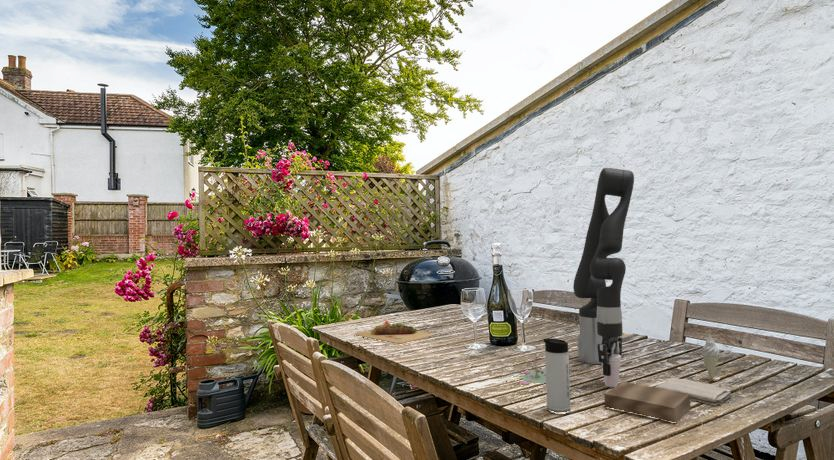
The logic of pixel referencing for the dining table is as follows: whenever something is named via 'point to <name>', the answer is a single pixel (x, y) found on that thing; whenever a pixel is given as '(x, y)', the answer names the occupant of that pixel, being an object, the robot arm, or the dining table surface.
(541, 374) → the plant
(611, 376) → the smoothie
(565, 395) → the travel mug
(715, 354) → the ice cream cone
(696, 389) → the washcloth
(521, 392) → the dining table surface
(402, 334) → the cutting board
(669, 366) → the dining table surface
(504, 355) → the dining table surface
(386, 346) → the dining table surface
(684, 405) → the walnut base
